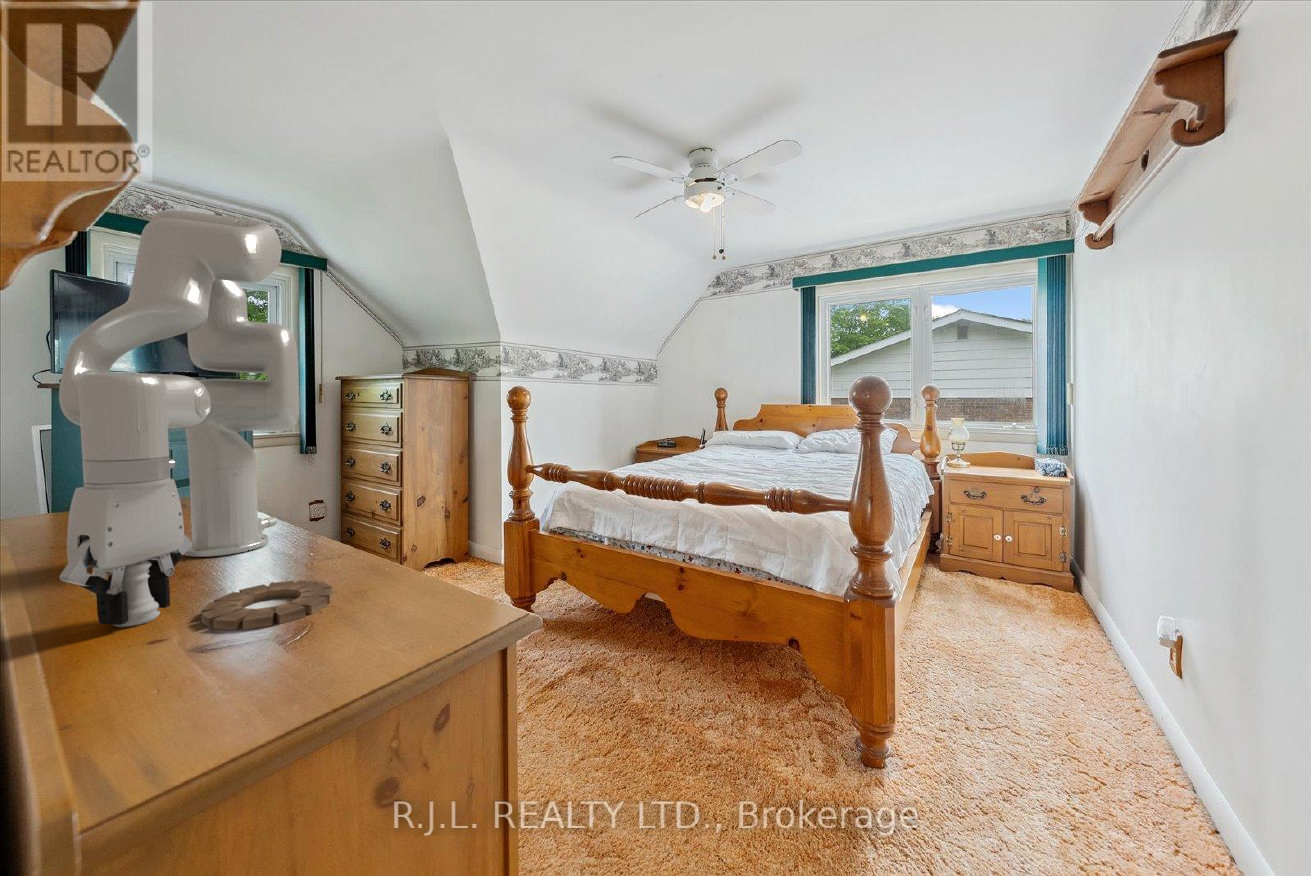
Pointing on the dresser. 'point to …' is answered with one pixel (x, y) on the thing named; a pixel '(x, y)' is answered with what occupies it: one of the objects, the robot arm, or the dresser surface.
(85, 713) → the dresser surface
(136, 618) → the rook chess piece
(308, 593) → the walnut ring
